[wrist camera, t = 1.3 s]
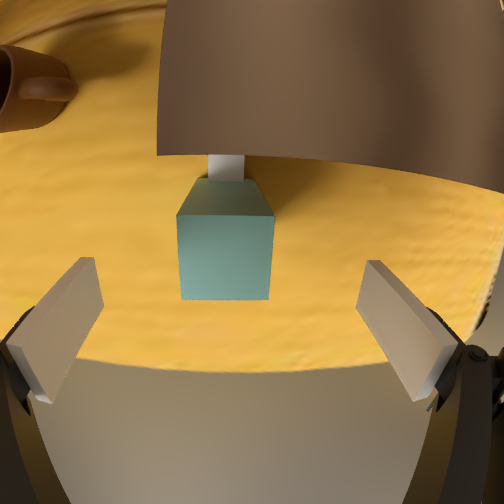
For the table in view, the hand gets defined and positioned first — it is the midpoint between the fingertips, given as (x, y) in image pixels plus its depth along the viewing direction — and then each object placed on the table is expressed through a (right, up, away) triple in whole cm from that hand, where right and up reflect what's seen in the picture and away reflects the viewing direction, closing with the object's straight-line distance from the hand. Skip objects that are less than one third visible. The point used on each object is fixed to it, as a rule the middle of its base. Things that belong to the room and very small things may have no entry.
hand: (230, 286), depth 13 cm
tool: (-1, +12, +11) cm, 16 cm away
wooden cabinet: (+4, +20, +8) cm, 22 cm away
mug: (-18, +17, +7) cm, 26 cm away
